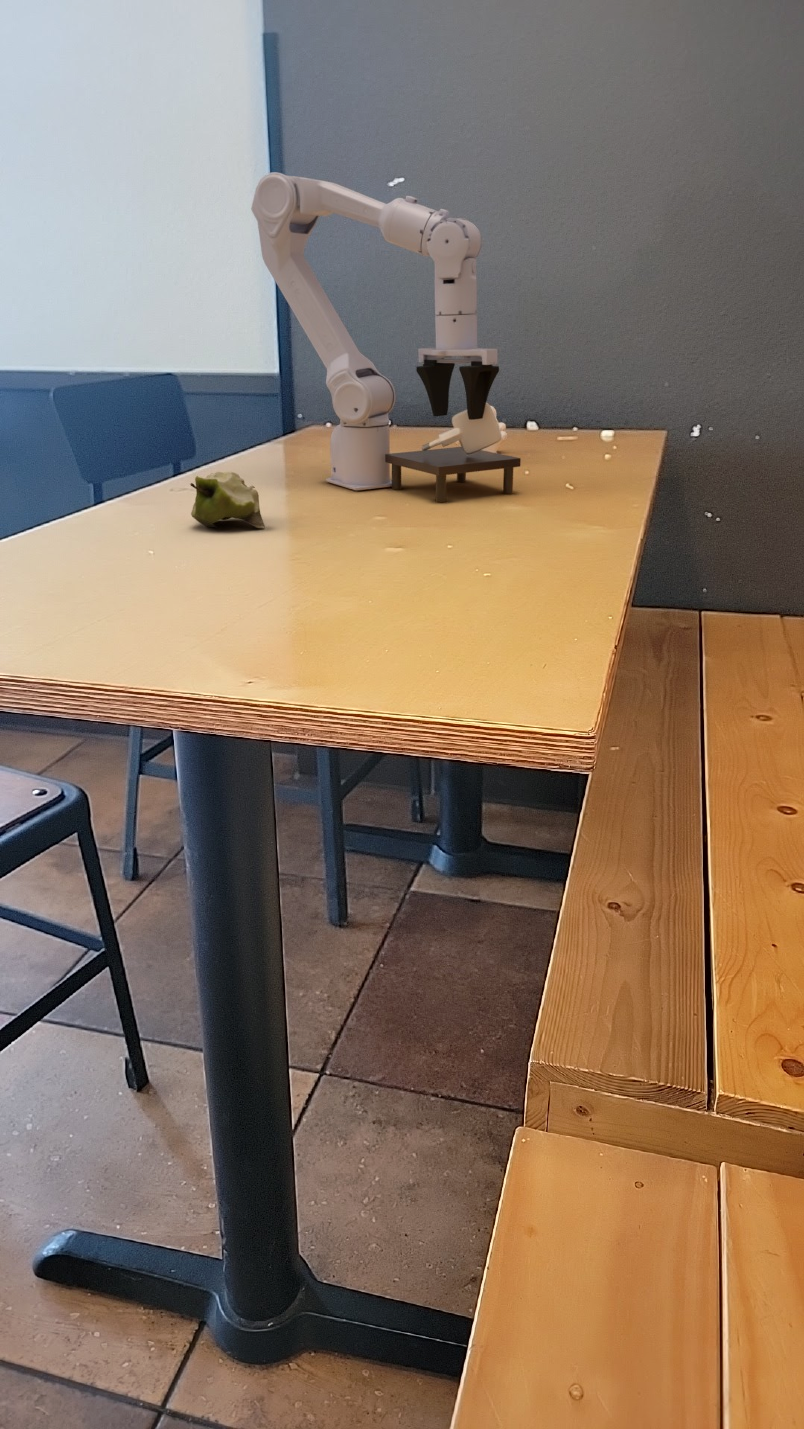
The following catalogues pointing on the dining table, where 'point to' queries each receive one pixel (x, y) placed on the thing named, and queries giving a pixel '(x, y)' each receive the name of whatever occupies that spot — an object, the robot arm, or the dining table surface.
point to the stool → (451, 466)
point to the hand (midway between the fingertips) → (457, 417)
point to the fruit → (225, 500)
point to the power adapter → (470, 432)
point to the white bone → (502, 428)
